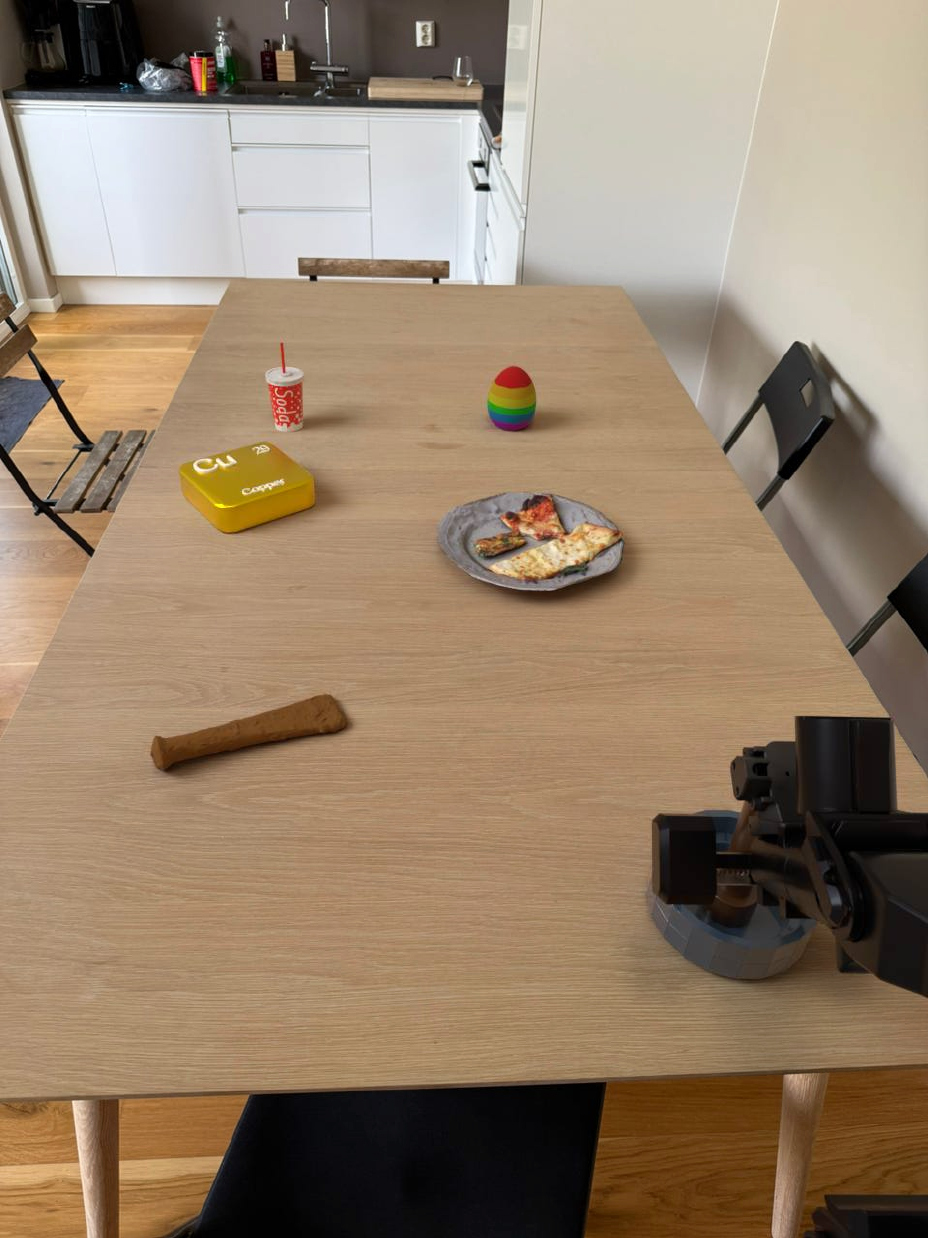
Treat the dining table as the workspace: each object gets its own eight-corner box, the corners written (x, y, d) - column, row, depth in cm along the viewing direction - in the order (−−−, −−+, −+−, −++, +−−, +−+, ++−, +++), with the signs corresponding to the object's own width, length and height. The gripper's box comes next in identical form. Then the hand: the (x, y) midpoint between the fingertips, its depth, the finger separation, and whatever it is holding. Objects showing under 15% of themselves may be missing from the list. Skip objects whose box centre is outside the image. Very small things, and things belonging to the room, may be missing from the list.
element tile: (224, 537, 120) (219, 506, 117) (177, 491, 129) (172, 461, 126) (321, 505, 128) (318, 475, 125) (270, 464, 137) (267, 435, 134)
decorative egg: (515, 409, 156) (519, 354, 150) (544, 427, 150) (549, 370, 144) (477, 419, 152) (479, 363, 146) (504, 438, 147) (508, 380, 141)
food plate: (552, 489, 134) (554, 469, 131) (657, 566, 118) (662, 543, 116) (407, 533, 122) (407, 511, 120) (503, 623, 107) (505, 600, 105)
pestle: (763, 919, 75) (808, 810, 67) (718, 934, 74) (759, 825, 65) (734, 878, 78) (773, 769, 70) (691, 891, 77) (726, 782, 69)
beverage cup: (263, 429, 146) (254, 346, 137) (282, 415, 151) (274, 333, 142) (296, 436, 144) (289, 352, 136) (314, 421, 149) (308, 339, 140)
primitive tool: (330, 695, 96) (328, 671, 94) (350, 728, 92) (349, 703, 90) (150, 756, 88) (143, 731, 86) (164, 794, 84) (157, 768, 82)
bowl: (841, 955, 74) (859, 919, 70) (698, 1005, 70) (712, 969, 67) (747, 830, 84) (760, 794, 81) (618, 867, 80) (626, 831, 77)
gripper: (964, 752, 58) (852, 747, 74) (682, 747, 58) (629, 743, 73) (973, 928, 57) (857, 885, 72) (684, 924, 56) (630, 882, 72)
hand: (743, 844), depth 72 cm, fingers open, 9 cm apart
